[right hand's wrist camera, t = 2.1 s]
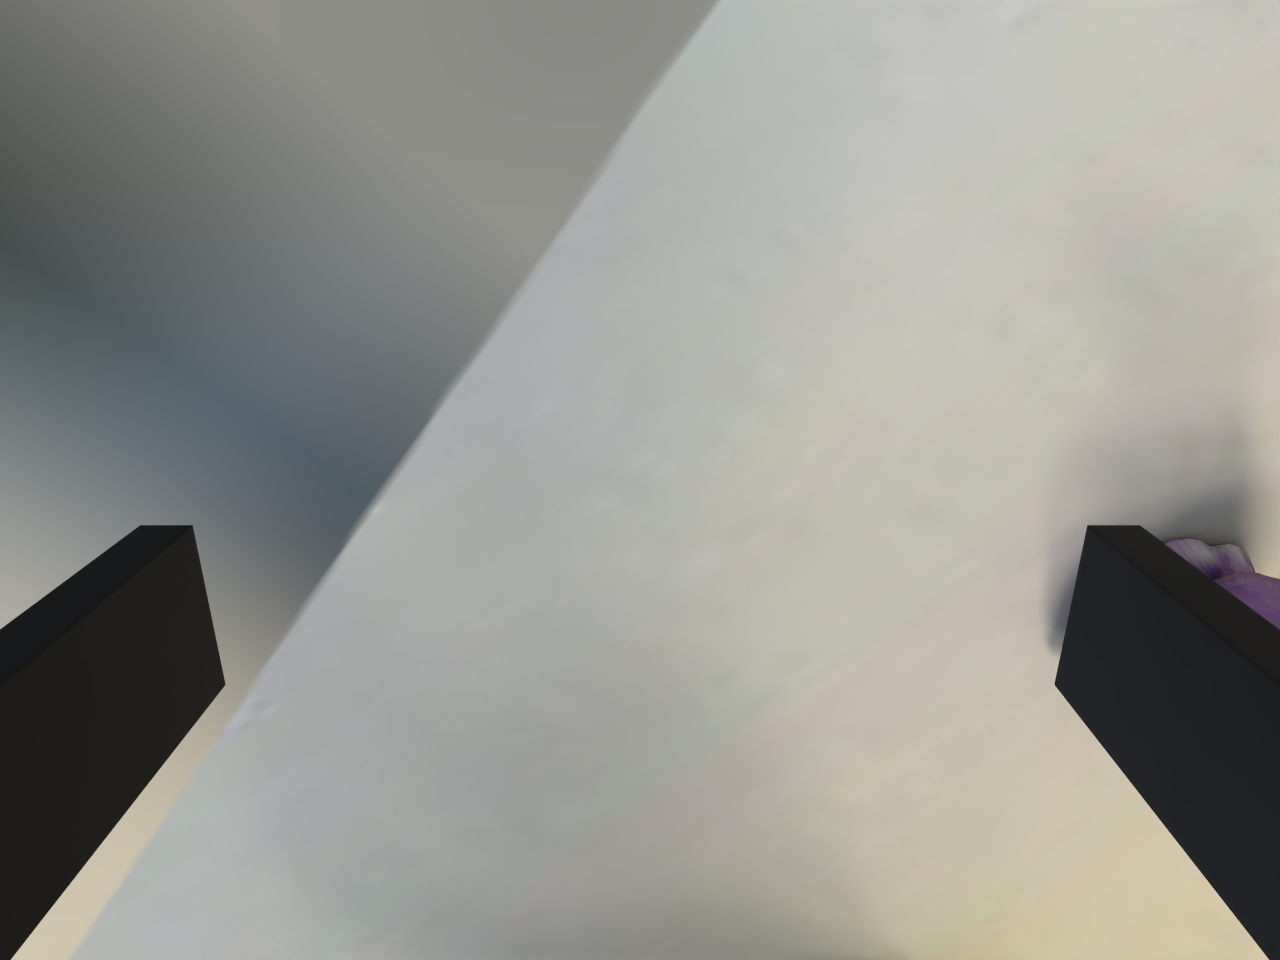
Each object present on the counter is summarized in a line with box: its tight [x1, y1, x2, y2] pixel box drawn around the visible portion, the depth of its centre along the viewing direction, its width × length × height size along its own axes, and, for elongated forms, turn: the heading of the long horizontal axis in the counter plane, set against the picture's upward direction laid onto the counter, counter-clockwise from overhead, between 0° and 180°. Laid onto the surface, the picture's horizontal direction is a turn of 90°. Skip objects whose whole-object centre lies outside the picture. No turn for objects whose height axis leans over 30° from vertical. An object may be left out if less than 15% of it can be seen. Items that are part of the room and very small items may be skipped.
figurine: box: [1164, 538, 1280, 629], centre depth 37 cm, size 9×10×15 cm
